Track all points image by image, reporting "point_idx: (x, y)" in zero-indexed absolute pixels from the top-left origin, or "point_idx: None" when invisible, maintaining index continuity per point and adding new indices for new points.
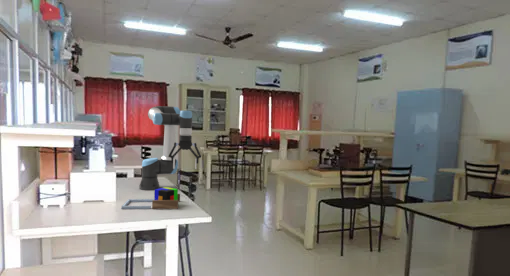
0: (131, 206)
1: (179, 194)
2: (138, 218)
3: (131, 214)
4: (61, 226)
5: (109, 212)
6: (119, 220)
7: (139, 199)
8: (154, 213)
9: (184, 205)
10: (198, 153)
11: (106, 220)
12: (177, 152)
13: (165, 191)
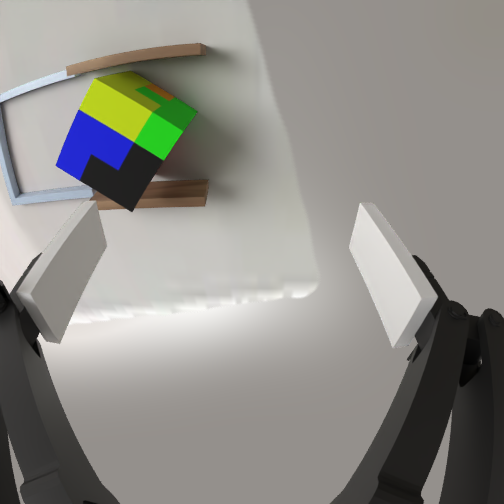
0: (36, 202)
1: (197, 54)
2: (110, 291)
3: None
4: None
5: (13, 237)
6: None
7: (19, 91)
8: (133, 249)
9: (236, 132)
10: (461, 407)
11: None
12: (69, 438)
13: (123, 206)
